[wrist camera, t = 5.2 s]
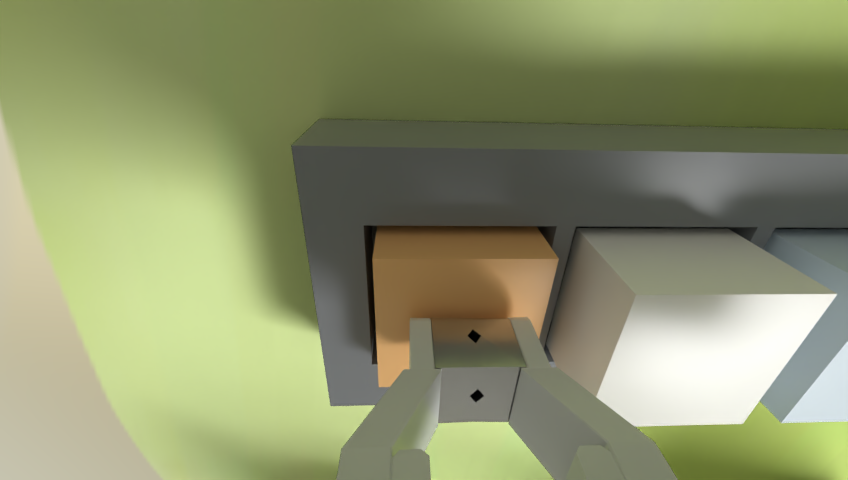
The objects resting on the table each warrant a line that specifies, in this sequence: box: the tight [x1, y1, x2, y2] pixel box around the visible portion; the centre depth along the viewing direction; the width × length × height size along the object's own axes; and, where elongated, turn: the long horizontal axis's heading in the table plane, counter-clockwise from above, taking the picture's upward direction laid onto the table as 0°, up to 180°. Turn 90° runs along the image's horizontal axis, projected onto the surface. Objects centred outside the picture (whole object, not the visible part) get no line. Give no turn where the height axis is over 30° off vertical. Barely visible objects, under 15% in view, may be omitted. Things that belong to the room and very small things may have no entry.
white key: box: [546, 228, 837, 426], centre depth 10 cm, size 4×4×3 cm
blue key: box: [760, 229, 848, 423], centre depth 10 cm, size 4×4×3 cm
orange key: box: [372, 225, 559, 387], centre depth 11 cm, size 4×4×3 cm
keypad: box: [291, 119, 848, 406], centre depth 12 cm, size 19×9×3 cm, turn 88°
